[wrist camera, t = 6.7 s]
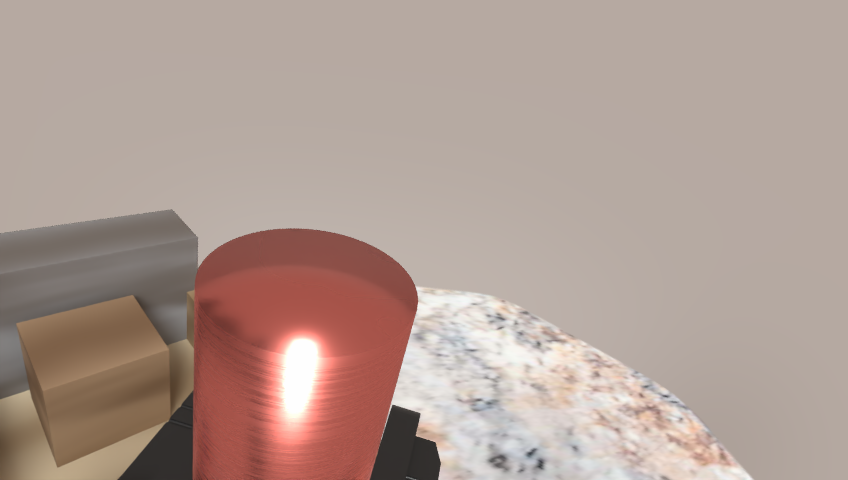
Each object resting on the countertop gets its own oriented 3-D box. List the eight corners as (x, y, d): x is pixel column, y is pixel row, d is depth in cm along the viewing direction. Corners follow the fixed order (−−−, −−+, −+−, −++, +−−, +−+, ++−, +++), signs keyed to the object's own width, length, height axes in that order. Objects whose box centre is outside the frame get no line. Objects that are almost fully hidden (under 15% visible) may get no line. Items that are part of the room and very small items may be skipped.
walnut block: (31, 398, 20) (15, 323, 18) (137, 362, 23) (132, 294, 21) (57, 467, 18) (42, 390, 16) (170, 419, 21) (169, 349, 19)
